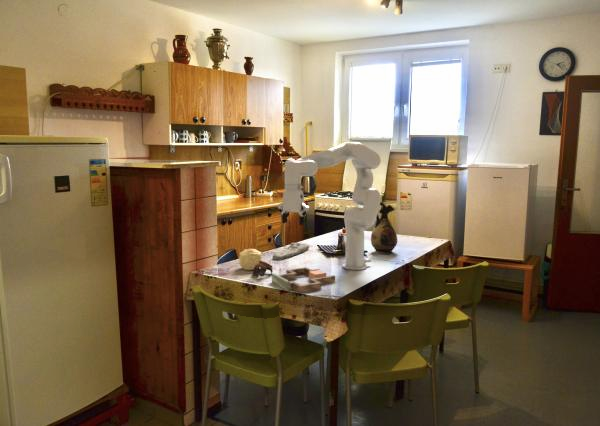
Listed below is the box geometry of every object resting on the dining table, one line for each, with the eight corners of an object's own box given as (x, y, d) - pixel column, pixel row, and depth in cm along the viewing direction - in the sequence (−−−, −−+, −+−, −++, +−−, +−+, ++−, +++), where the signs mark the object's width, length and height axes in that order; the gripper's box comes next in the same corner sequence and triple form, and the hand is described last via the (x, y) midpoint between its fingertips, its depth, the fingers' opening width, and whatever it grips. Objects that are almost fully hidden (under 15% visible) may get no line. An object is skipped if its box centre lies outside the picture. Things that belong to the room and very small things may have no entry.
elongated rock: (267, 261, 276) (283, 264, 271) (267, 252, 275) (283, 255, 270) (298, 246, 306) (313, 249, 301) (299, 238, 305) (313, 240, 300)
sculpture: (240, 272, 248) (239, 251, 246) (238, 266, 259) (238, 246, 258) (262, 271, 250) (262, 250, 248) (260, 265, 261) (259, 245, 260)
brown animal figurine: (249, 274, 246) (256, 259, 247) (267, 282, 247) (273, 267, 248) (252, 274, 234) (259, 258, 236) (270, 282, 235) (277, 266, 237)
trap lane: (311, 272, 248) (311, 264, 247) (342, 285, 225) (342, 276, 224) (266, 279, 235) (266, 271, 235) (293, 294, 212) (293, 285, 212)
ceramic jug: (395, 249, 298) (396, 200, 294) (398, 255, 283) (399, 203, 279) (367, 249, 300) (368, 200, 295) (368, 255, 285) (369, 203, 280)
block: (319, 278, 238) (319, 269, 237) (326, 281, 233) (326, 272, 232) (308, 279, 235) (308, 271, 235) (315, 282, 230) (315, 274, 229)
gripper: (312, 187, 227) (313, 224, 230) (282, 185, 237) (282, 221, 239) (304, 189, 221) (304, 226, 224) (273, 187, 231) (273, 223, 233)
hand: (293, 223), depth 232 cm, fingers open, 9 cm apart
